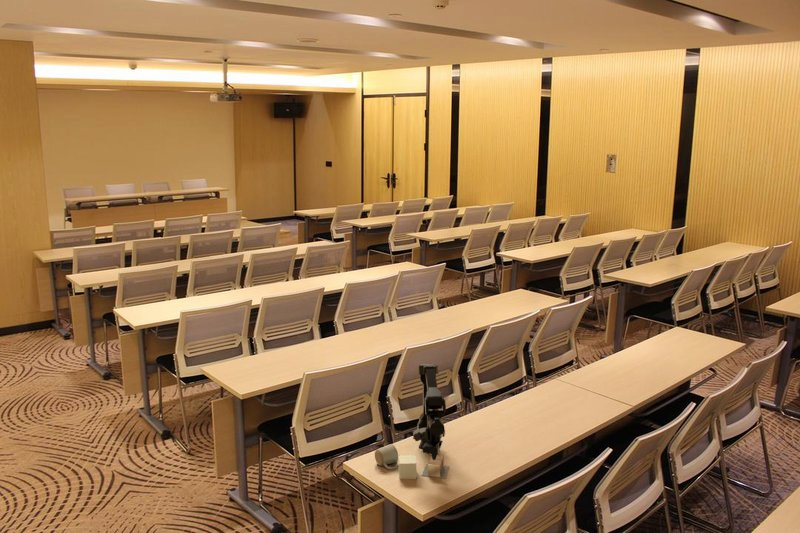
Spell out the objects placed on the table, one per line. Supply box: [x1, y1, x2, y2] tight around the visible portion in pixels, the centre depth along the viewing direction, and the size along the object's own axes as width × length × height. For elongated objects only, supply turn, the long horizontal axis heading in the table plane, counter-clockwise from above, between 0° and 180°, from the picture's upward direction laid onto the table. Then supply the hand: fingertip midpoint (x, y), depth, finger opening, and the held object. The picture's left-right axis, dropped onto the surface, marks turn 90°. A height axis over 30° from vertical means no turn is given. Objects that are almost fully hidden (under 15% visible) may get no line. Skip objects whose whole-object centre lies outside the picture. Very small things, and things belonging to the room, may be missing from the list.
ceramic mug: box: [374, 443, 399, 471], centre depth 292 cm, size 11×8×8 cm
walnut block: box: [427, 454, 445, 478], centre depth 286 cm, size 5×5×9 cm
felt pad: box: [421, 463, 450, 480], centre depth 286 cm, size 10×10×1 cm
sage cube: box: [398, 454, 417, 480], centre depth 283 cm, size 7×7×7 cm
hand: (434, 459), depth 281 cm, fingers closed
